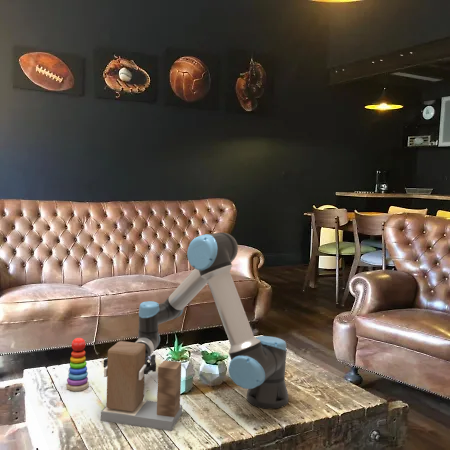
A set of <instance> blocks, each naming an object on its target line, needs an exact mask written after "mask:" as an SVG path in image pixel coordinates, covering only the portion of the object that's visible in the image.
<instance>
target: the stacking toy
mask: <svg viewBox="0 0 450 450" xmlns="http://www.w3.org/2000/svg"><path fill="white" fill-rule="evenodd" d="M86 345H87V343H86V341H85V339H84V338H82V337H75V338H74V339H73V340H72V342H71V345H70V346H71V349H72V351H71V353H70V354H71V356H70V359H69V361H70V363H69V368H68V374H67V379H66V382H67V383H66V389H67V390H68V391H72V392H79V391H80V392H81V391H84V390H86V389H88V387H89V384H90V383H89V381H88V380H89V378H88V374H89V373H88V366H87V361H86V359H87V358H86V351H85V348H86Z"/></svg>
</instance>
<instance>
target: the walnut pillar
mask: <svg viewBox="0 0 450 450" xmlns="http://www.w3.org/2000/svg"><path fill="white" fill-rule="evenodd" d="M181 383H182V362H180V361H172V360H163V361H162V362H161V363H160V364H159V365H158V366H157V388H156V389H157V391H156V392H157V393H156V394H157V395H156V397H157V398H156V402H157V415H161V416H169V417H175V416H176V414H177V413H178V411H179V409H180V405H181V387H182V386H181V385H182V384H181Z"/></svg>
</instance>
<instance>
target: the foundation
mask: <svg viewBox="0 0 450 450" xmlns="http://www.w3.org/2000/svg"><path fill="white" fill-rule="evenodd" d="M182 414H183V405H182V404H180V409H179V411H178V413H177V414H176V416H175V417H169V416H161V415H157V400H156V401H154V400H149V399H147V400H146V399H143V401H142V402H141V403H140V405H139V406H138V407H137V408H136V410H135V411H125V410H118V409H110V408H107V406H105V407H103V409H102V410H100V422H101V421H102V422H108V423H115V424H121V425H122V424H123V425H130V426H136V427H143V428H151V429H155V430H163V431H170V432H172V430H173V429H174V427H175V426H176V424H177V422H178V421H179V419H180V417H181V415H182Z"/></svg>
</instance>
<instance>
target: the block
mask: <svg viewBox="0 0 450 450" xmlns="http://www.w3.org/2000/svg"><path fill="white" fill-rule="evenodd" d="M145 349H146V346H145V344H142V343H135V342H131V341H121V340H120V341H117V342H116V343H115V344H114V345H112V346H111V347H110V348H109V349H108V350H107V358H108V364H107V377H106V406H107V408H110V409H118V410H125V411H135V410H136V408H137V407H138V406H139V405H140V403H141V402H142V401H143V400H145V375H146V374H145V375H144V376H143V378H142V379H141V380H139V371H140V370H141V368H142V367H143V366H144V365H145ZM106 406H105V407H106Z"/></svg>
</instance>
